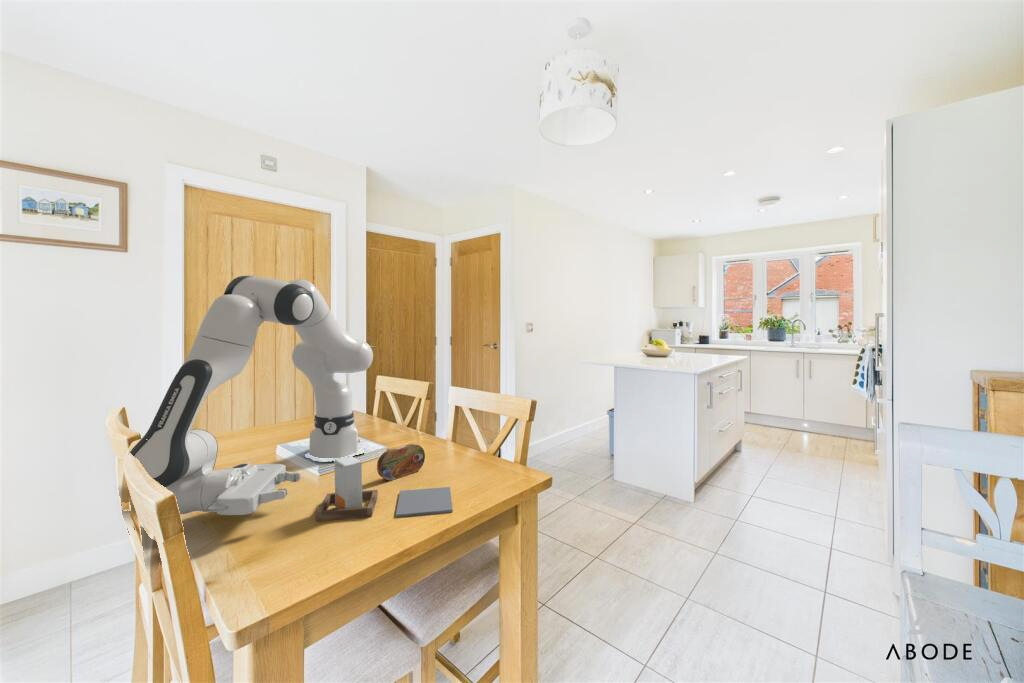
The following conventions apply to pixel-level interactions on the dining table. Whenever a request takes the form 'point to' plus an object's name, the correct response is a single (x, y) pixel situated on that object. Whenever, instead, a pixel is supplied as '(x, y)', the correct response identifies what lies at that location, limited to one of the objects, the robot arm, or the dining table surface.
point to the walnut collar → (346, 513)
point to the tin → (400, 462)
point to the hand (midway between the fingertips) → (293, 484)
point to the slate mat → (424, 502)
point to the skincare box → (348, 482)
